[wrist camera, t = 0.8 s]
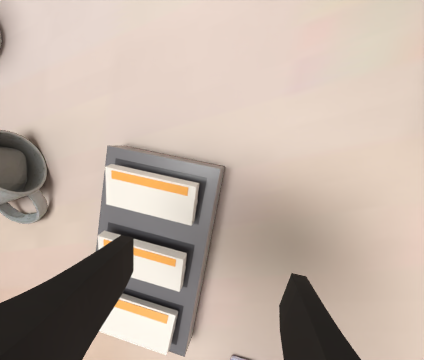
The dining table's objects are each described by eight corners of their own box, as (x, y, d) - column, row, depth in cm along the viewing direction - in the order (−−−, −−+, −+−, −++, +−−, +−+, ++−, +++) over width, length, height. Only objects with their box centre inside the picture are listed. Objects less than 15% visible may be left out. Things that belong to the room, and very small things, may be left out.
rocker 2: (170, 347, 25) (166, 356, 24) (95, 321, 27) (87, 328, 26) (179, 309, 26) (175, 316, 24) (103, 285, 27) (96, 290, 26)
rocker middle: (184, 282, 25) (179, 292, 24) (106, 259, 27) (98, 268, 25) (187, 251, 24) (182, 260, 22) (106, 229, 25) (97, 236, 24)
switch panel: (192, 335, 29) (184, 357, 26) (104, 306, 31) (87, 323, 28) (225, 166, 26) (220, 168, 23) (123, 145, 28) (107, 145, 25)
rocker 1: (195, 219, 24) (191, 226, 23) (114, 198, 25) (105, 204, 24) (200, 182, 22) (195, 187, 21) (113, 163, 24) (104, 167, 23)
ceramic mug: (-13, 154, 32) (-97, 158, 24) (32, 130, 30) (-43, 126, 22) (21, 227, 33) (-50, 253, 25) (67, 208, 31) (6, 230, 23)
